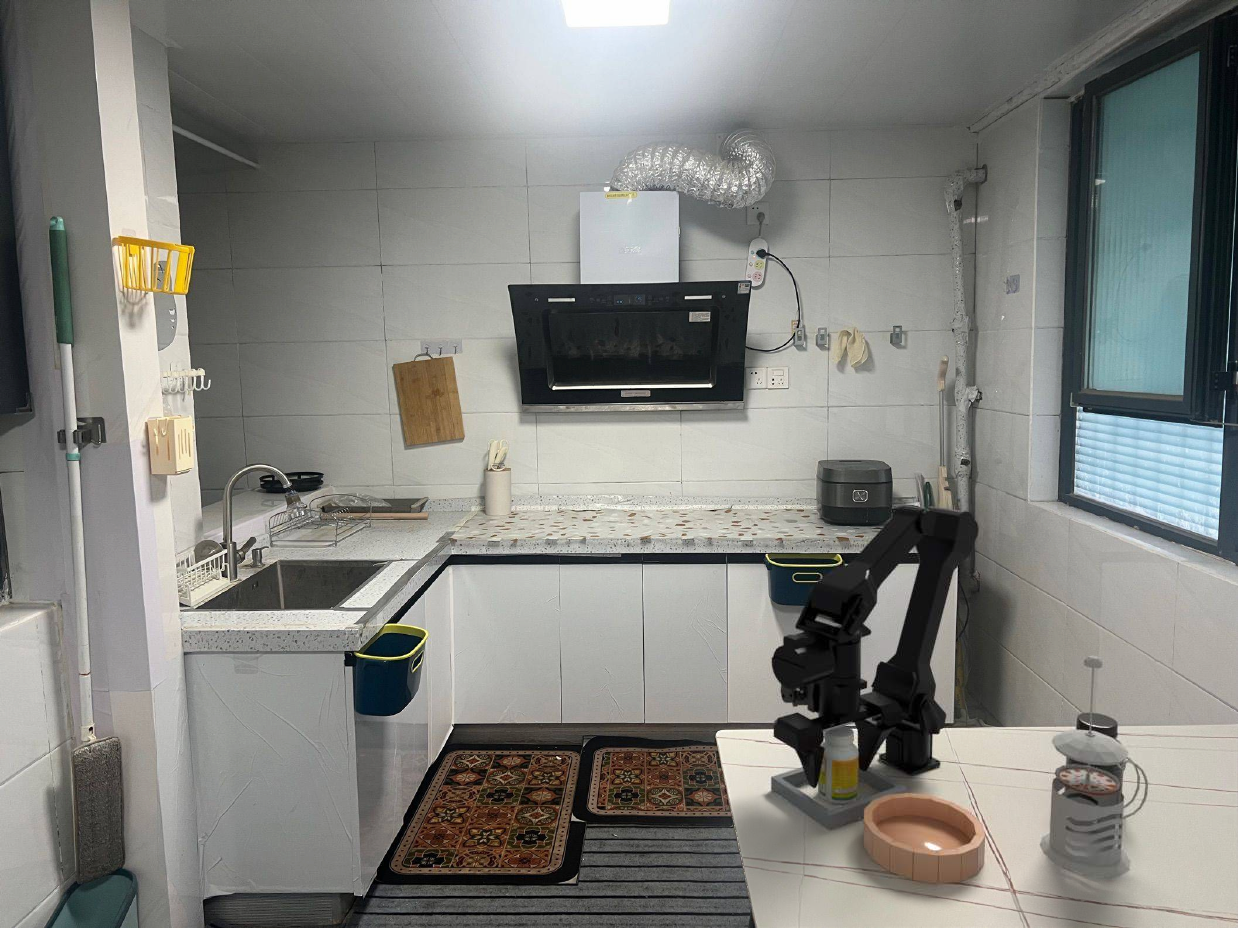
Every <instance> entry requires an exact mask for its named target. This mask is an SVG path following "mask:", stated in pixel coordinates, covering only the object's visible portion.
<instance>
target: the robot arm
mask: <svg viewBox="0 0 1238 928" xmlns="http://www.w3.org/2000/svg"><path fill="white" fill-rule="evenodd" d="M978 535H979V523H978V521H976V520H975V518H974V515H973V513H971V512H970V511H965V510H959V509H952V508H947V507H946V508H945V507H939V506H933V505H930V506H928V507H921V506H914V505H907V504H904V505H900V506H897V507H896V508H895V509H894V511H893V514H892V516H891V518H890V519H889V520H888V521H887V522H886V524H885V525H884V526H883V527H882V528H881V529H880V530H879V532H877V534H875V536H874V537H873V538H872V539H871V540H870V541H869V542H868V543H867V544H866V545H865V546H864V548H863V549H862V550H861V551H860V552H858V554H857V555H856V556H855V557H854V559H852V561H850V562H849V563H848V564H846V565H842V566H840V567H838V568H834V569H832V570H830V571H829V572H828V573H826V574H825V575H824V576H822V577H821V578H819V580H817V581H816V583H815V584H814V585H813V586H812V588H811V591H810V594H809V595H808V598H807V600H806V602H805V604H804V606H803V609H802V610H801V612H800V615H799V617H798V619H797V622H796V624H795V625H794V627H795V630H798V631H801V632H799V633H795V634H787V635H784V636H783V640H782V641H783V644H782V645H780V646H778V647H777V648H776V649H775V651H774V652H773V655H772V657H771V668H772V672H773V674H774V676H775V678H776V680H777V681H778V683H779V684H780V695H781V700H782V701H783V703H785V704H790V703H791V705H792V707H793V708H794V707H795V708H796V707H798V706H807V708H806V709H807V711H809V712H811V713H816V714H817V717H814V718H809V717H807V716H805V715H803V714H801V713H799V712H794V713H791V714H787V715H783V716H780V717H777V718H776V719H775V720H774V722H773V738H775V739H777V740H779V741H780V742H781V743H784V744H785V745H787V746H788V747H790V748H792V749H793V750H794V751H795V753H796V755H797V757H798V759H799V761H800V765H801V767H803V770H804V772H805V775H806V778H807V781H808V783H807V784H808V785H809V786H810V787H811V788H813V789H816V788H817V787H818V781H819V777H820V772H821V766H822V761H823V756H824V751H825V748H824V747H822V746H820V745H821V744H822V742H823V741H825V739H824V732H825V731H829V730H832V729H836V728H839V727H842V726H849V725H852V724H854V726H855V728H856V730H857V731H856V732H857V749H858V762H859V769H860V770H862V771H864V772H865V771H867V769H868V767H871V764H872V763H873V761H874V758H875V756H876V755H877V753H878V752H879V750H880V748H881V747H882V745H883V743H884V742H885V751H884V752H881V753H880V754H879V755H878V759H879V760H882V761H883V762H885V763H887V764H889V765H890V766H892V767H895V768H896V769H897V770H900V771H902V772H904V773H906V774H907V775H911V776H913V775H916V774H918V773H922V772H924V771H928V770H931V769H932V768H936V767H939V766H941V761H940V760H939V759H938V758H935V757H933V737H934V736H933V735H940V733H941V730H942V729H945V724H946V719H947V713H946V712H945V710H943V709H944V708H942V707H941V706H940V704H938V703H937V701H936V699H935V697H936V696H935V695H936V690H937V689H936V688H937V684H936V681H935V678H934V674H933V671H932V668H931V660H932V657H933V653H934V649H935V647H936V646H935V645H936V641H937V637H938V633H939V630H940V626H941V622H942V617H943V614H944V610H945V607H946V603H947V599H948V594H949V591H950V587H951V583H952V580H953V575H954V572H955V570H956V569H957V568H959V566H960V565H962V563H964V562H965V561H966V560H967V559H968V558H969V556H970V555H971V552H972V549H973V547H974V545H975V541H976V540H977V538H978ZM914 548H915V549H916V554H917V556H918V559H919V563H918V566H917V567H918V568H917V570H916V575H915V579H914V582H913V586H912V590H911V593H910V598H909V601H908V606H907V610H906V613H905V616H904V619H903V620H904V621H903V625H902V627H901V632H900V635H899V639H898V644H897V647H896V651H895V654H894V655H892V656H891V658H888V659H889V660H887V661H886V662H885V661H882V660H880V662H878V664H877V666H876V671H875V676H874V679H873V681H872V683H871V685H870V687H871V692H867V693H863V694H861V691H862V690H865V689H868V681H867V680H866V679H865V678H862V676H861V675H862V674H861V673H862V670H861V669H862V667H861V666H862V665H861V664H862V638H864V637H867V636H870V635H871V634H872V630H871V629H870V628H869V627H868V626H866V625H865V622H866V620H868V618H869V616H870V615H871V613H872V612H873V610H874V608H875V607H876V605H877V604H878V590H879V588H880V587H881V585H882V584H883V583H884V582H885V580H887V578H888V577H889V576H890V575H891V574H892V572H893V571H894V570H896V568H897V567H898V566H899V565H900V563H902V562H903V560H904V559H905V558H906V556H907V555H909V553H910V552H911V551H912V550H913V549H914ZM817 618H818V619H821V620H824V621H827V622H830V623H834V624H835V625H832V624H829V623H825V622H822V621H818V620H816V619H817ZM836 624H837V625H836Z"/></svg>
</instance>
